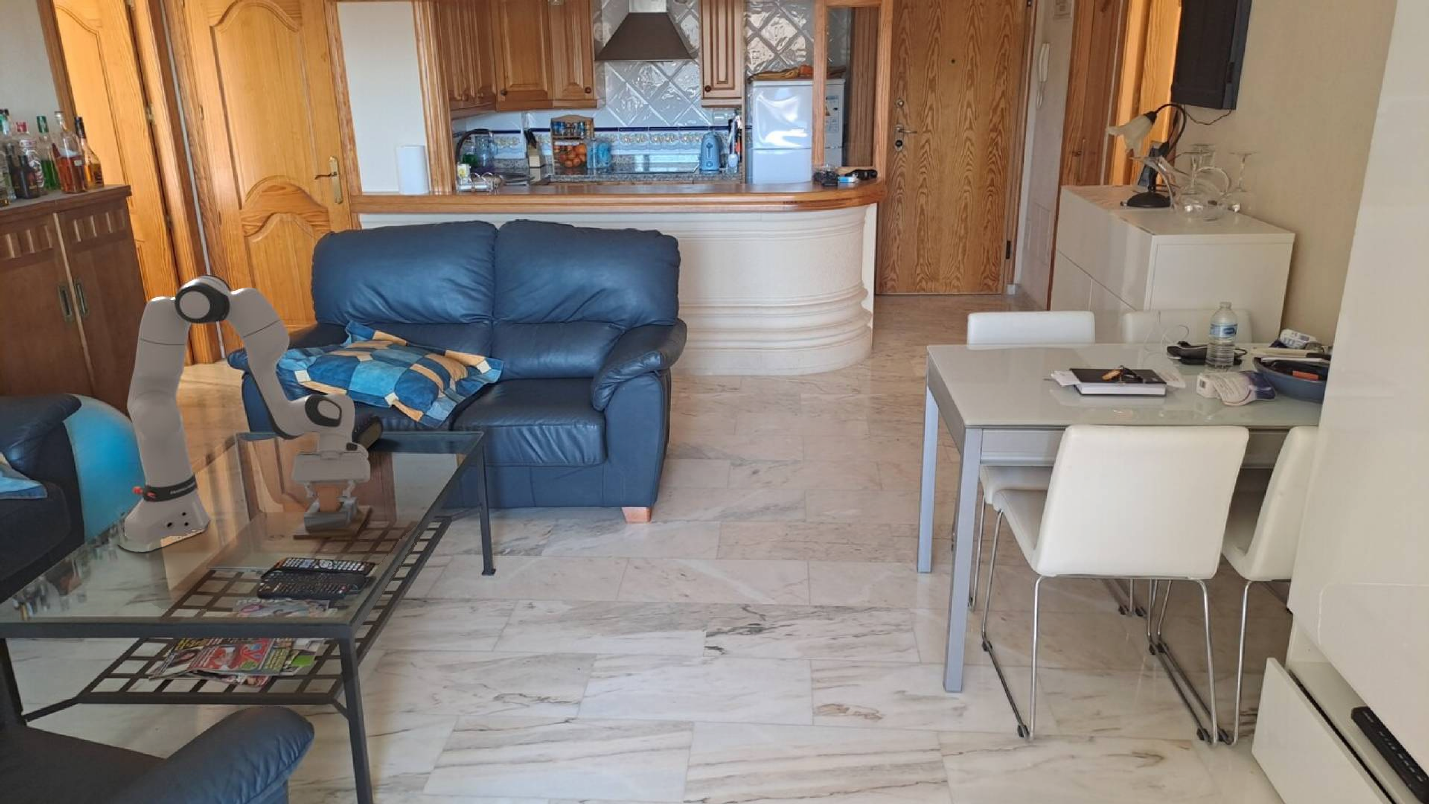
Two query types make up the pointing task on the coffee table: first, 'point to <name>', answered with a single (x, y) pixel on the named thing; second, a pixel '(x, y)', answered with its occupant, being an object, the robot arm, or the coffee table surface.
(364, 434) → the portable speaker
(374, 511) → the coffee table surface
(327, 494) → the post
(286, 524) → the coffee table surface
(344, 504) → the well
